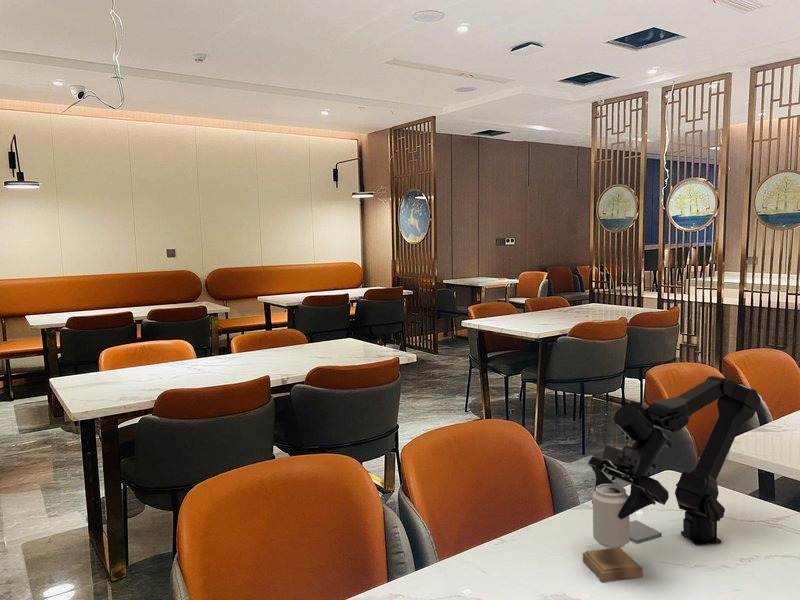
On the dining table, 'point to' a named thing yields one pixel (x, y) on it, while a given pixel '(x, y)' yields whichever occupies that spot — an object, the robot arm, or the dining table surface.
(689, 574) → the dining table surface
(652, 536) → the slate coaster
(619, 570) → the plinth
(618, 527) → the can
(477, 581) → the dining table surface
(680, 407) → the robot arm
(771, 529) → the dining table surface
